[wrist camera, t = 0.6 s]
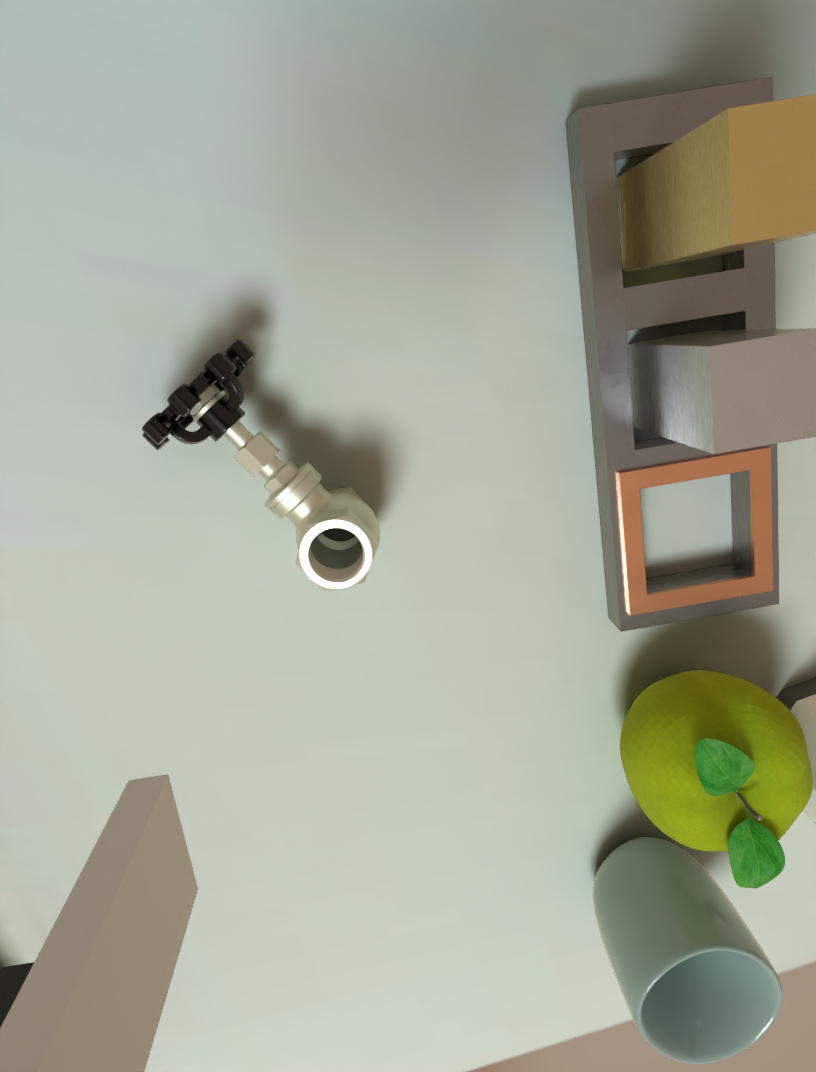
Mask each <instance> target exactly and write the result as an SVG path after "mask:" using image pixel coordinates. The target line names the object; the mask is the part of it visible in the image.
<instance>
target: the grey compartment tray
mask: <svg viewBox="0 0 816 1072" xmlns="http://www.w3.org/2000/svg"><path fill="white" fill-rule="evenodd" d="M770 101H773V98H772V77H770V78H764V79H757V80H751V81H745V82H739V83H733V84H727V85H720V86H714V87H708V88H702V89H696V90H690V91H684V92H677V93H671V94H665V95H659V96H653V97H647V98H640V99H634V100H628V101H622V102H616V103H610V104H604V105H597V106H591V107H585V108H579V109H577V110H576V111H575V112H574V113H573V114H572V115H571V116H570V117H569V119H568V120H567V121H566V132H567V144H568V155H569V167H570V178H571V190H572V201H573V213H574V224H575V236H576V247H577V259H578V271H579V282H580V294H581V305H582V317H583V328H584V340H585V351H586V363H587V374H588V386H589V398H590V409H591V421H592V432H593V444H594V455H595V467H596V478H597V490H598V501H599V513H600V525H601V536H602V548H603V559H604V571H605V582H606V594H607V605H608V617H609V619H610V620H611V621H612V622H613V623H614V625H615V626H616V627H617V628H618V629H619V630H620V631H627V630H633V629H638V628H644V627H650V626H656V625H661V624H667V623H673V622H678V621H684V620H690V619H695V618H701V617H707V616H712V615H718V614H724V613H730V612H735V611H741V610H747V609H752V608H758V607H764V606H769V605H775V604H779V559H778V482H777V443H776V444H770V445H764V446H758V447H753V448H747V449H741V450H735V451H729V452H723V453H718V454H712V453H709V452H706V451H703V450H700V449H697V448H694V447H691V446H688V445H685V444H682V443H679V442H676V441H673V440H670V439H667V438H664V437H662V438H656V439H650V440H645V441H639V442H634V432H633V418H632V404H631V389H630V375H629V361H628V347H627V333H626V331H627V330H633V329H639V328H645V327H651V326H657V325H663V324H669V323H675V322H680V321H686V320H692V319H698V318H704V317H710V316H716V315H722V314H726V330H756V329H776V328H775V251H774V243H770V244H766V245H762V246H757V247H753V248H748V249H744V250H739V251H735V252H731V253H726V254H724V271H723V272H717V273H711V274H705V275H699V276H693V277H687V278H681V279H675V280H669V281H663V282H657V283H651V284H645V285H639V286H633V287H627V288H623V276H622V261H621V247H620V233H619V219H618V204H617V190H616V176H615V162H614V160H616V159H622V158H628V157H634V156H641V155H647V154H653V153H657V152H659V151H660V150H662V149H664V148H665V147H667V146H668V145H670V144H672V143H673V142H675V141H677V140H678V139H680V138H681V137H683V136H685V135H686V134H688V133H689V132H691V131H693V130H694V129H696V128H697V127H699V126H701V125H702V124H704V123H706V122H707V121H709V120H710V119H712V118H714V117H715V116H717V115H718V114H720V113H722V112H723V111H725V110H726V109H728V108H734V107H740V106H746V105H752V104H758V103H764V102H770ZM729 473H731V501H732V532H733V563H734V564H729V565H723V566H717V567H711V568H706V569H700V570H694V571H689V572H683V573H677V574H671V575H666V576H660V577H654V578H648V579H646V574H645V560H644V545H643V531H642V517H641V502H640V489H642V488H648V487H654V486H659V485H665V484H671V483H677V482H683V481H688V480H694V479H700V478H706V477H712V476H717V475H723V474H729Z"/></svg>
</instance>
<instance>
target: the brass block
mask: <svg viewBox="0 0 816 1072" xmlns="http://www.w3.org/2000/svg"><path fill="white" fill-rule="evenodd" d="M617 187H618V202H619V216H620V230H621V245H622V259H623V272H625V271H631V270H637V269H643V268H649V267H655V266H661V265H667V264H673V263H679V262H685V261H691V260H697V259H703V258H708V257H713V256H717V255H722V254H726V253H731V252H735V251H739V250H744V249H748V248H753V247H757V246H762V245H766V244H770V243H775V242H779V241H784V240H788V239H793V238H797V237H801V236H806V235H810V234H815V233H816V94H813V95H807V96H801V97H795V98H789V99H783V100H777V101H770V102H764V103H758V104H752V105H746V106H740V107H734V108H728V109H726V110H725V111H723V112H722V113H720V114H718V115H717V116H715V117H714V118H712V119H710V120H709V121H707V122H706V123H704V124H702V125H701V126H699V127H697V128H696V129H694V130H693V131H691V132H689V133H688V134H686V135H685V136H683V137H681V138H680V139H678V140H677V141H675V142H673V143H672V144H670V145H668V146H667V147H665V148H664V149H662V150H660V151H659V152H657V153H656V154H654V155H652V156H651V157H649V158H648V159H646V160H644V161H643V162H641V163H639V164H638V165H636V166H635V167H633V168H631V169H630V170H628V171H627V172H625V173H623V174H622V175H620V176H619V177H617Z"/></svg>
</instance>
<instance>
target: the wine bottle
mask: <svg viewBox="0 0 816 1072" xmlns="http://www.w3.org/2000/svg"><path fill="white" fill-rule="evenodd" d="M777 699H778V700H779V701H781V702H782V703H783V704H784V705H785V706H786V707H787V708H788V709H789V710H790V711H791V712H792V713H793V714H794V716H795V717H796V719H797V721H798V722H799V724H800V726H801V728H802V730H803V733H804V737H805V740H806V744H807V751H808V757H809V761H810V766H811V770H812V777H813V790H812V794H811V797H810V799H809V801H808V803H807V805H806V807H805V808H804V809H803V811H804V812H805V813H806V814H807V815H808V816H809V817H810V818H811V819H812V820H813V822H814V823H815V824H816V678H813V679H811V680H808V681H805V682H803V683H800V684H797V685H795V686H792V687H789V688H786V689H784V690H782V691H781V693H780V694H779V696H778V698H777Z"/></svg>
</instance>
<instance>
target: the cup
mask: <svg viewBox="0 0 816 1072" xmlns="http://www.w3.org/2000/svg"><path fill="white" fill-rule="evenodd" d="M593 901H594V909H595V915H596V920H597V924H598V928H599V931H600V935H601V938H602V941H603V944H604V947H605V949H606V952H607V955H608V958H609V960H610V963H611V966H612V968H613V971H614V973H615V976H616V978H617V981H618V983H619V986H620V988H621V991H622V993H623V996H624V998H625V1001H626V1003H627V1006H628V1008H629V1011H630V1013H631V1016H632V1018H633V1020H634V1022H635V1024H636V1026H637V1028H638V1030H639V1032H640V1033H641V1035H642V1036H643V1037H644V1039H645V1040H646V1041H647V1042H648V1043H649V1044H650V1045H651V1046H652V1047H653V1048H654V1049H655V1050H657V1051H658V1052H660V1053H661V1054H663V1055H665V1056H667V1057H668V1058H671V1059H674V1060H677V1061H680V1062H684V1063H690V1064H706V1063H712V1062H717V1061H720V1060H723V1059H726V1058H729V1057H731V1056H733V1055H735V1054H737V1053H739V1052H741V1051H743V1050H744V1049H746V1048H747V1047H749V1046H750V1045H751V1044H753V1043H754V1042H755V1041H757V1040H758V1039H759V1038H760V1037H761V1036H762V1035H763V1034H764V1033H765V1032H766V1031H767V1030H768V1029H769V1027H770V1026H771V1025H772V1024H773V1022H774V1020H775V1018H776V1016H777V1015H778V1013H779V1010H780V1007H781V1003H782V988H781V984H780V981H779V978H778V976H777V973H776V971H775V969H774V967H773V966H772V964H771V962H770V961H769V959H768V958H767V956H766V954H765V953H764V951H763V950H762V948H761V947H760V945H759V943H758V942H757V940H756V939H755V937H754V936H753V934H752V933H751V931H750V930H749V928H748V927H747V925H746V923H745V922H744V920H743V919H742V917H741V916H740V914H739V913H738V911H737V910H736V908H735V907H734V906H733V904H732V903H731V901H730V900H729V898H728V897H727V895H726V894H725V893H724V891H723V890H722V889H721V887H720V886H719V885H718V883H717V882H716V881H715V880H714V878H713V877H712V876H711V875H710V874H709V873H708V871H707V870H706V869H705V868H704V867H703V866H702V865H701V864H700V863H699V862H698V861H697V860H696V859H695V858H694V857H693V856H692V855H691V854H689V853H688V852H686V851H685V850H684V849H682V848H681V847H679V846H678V845H676V844H674V843H671V842H669V841H667V840H664V839H660V838H656V837H641V838H635V839H632V840H630V841H627V842H625V843H623V844H622V845H620V846H618V847H617V848H616V849H615V850H613V851H612V852H611V853H610V854H609V855H608V856H607V857H606V858H605V860H604V861H603V863H602V864H601V865H600V867H599V869H598V871H597V874H596V877H595V880H594V886H593Z"/></svg>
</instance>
